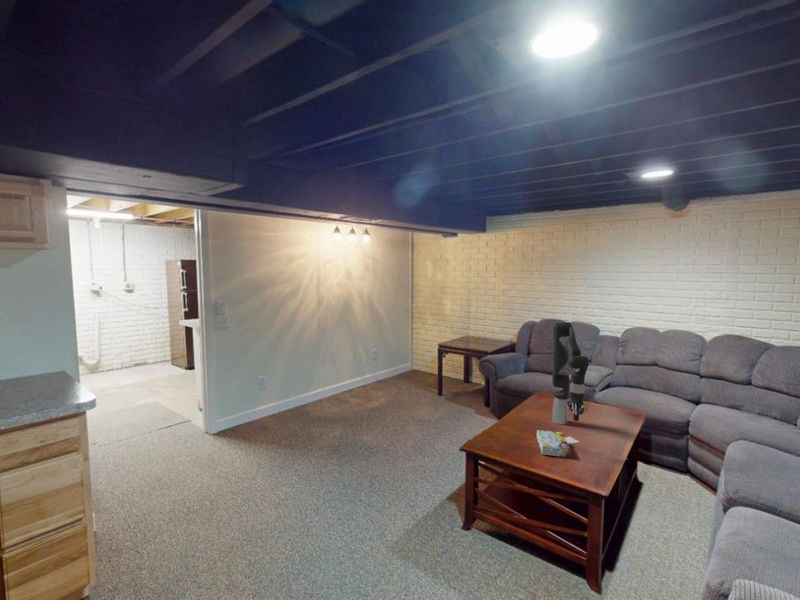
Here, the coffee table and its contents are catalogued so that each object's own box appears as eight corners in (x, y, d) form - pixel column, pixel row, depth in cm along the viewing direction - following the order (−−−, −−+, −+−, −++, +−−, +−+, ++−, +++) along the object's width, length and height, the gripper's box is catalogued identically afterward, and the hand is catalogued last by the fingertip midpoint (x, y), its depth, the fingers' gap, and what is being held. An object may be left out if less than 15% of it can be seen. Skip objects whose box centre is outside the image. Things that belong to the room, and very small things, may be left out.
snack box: (570, 448, 220) (542, 445, 223) (570, 457, 221) (542, 455, 223) (562, 431, 241) (536, 429, 244) (561, 440, 242) (535, 438, 244)
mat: (537, 442, 240) (537, 441, 240) (569, 437, 248) (569, 436, 248) (547, 448, 232) (547, 447, 232) (579, 442, 240) (579, 441, 240)
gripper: (563, 388, 230) (562, 417, 232) (580, 395, 218) (579, 425, 219) (573, 386, 233) (572, 415, 234) (591, 393, 220) (590, 424, 222)
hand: (575, 420), depth 227 cm, fingers closed
